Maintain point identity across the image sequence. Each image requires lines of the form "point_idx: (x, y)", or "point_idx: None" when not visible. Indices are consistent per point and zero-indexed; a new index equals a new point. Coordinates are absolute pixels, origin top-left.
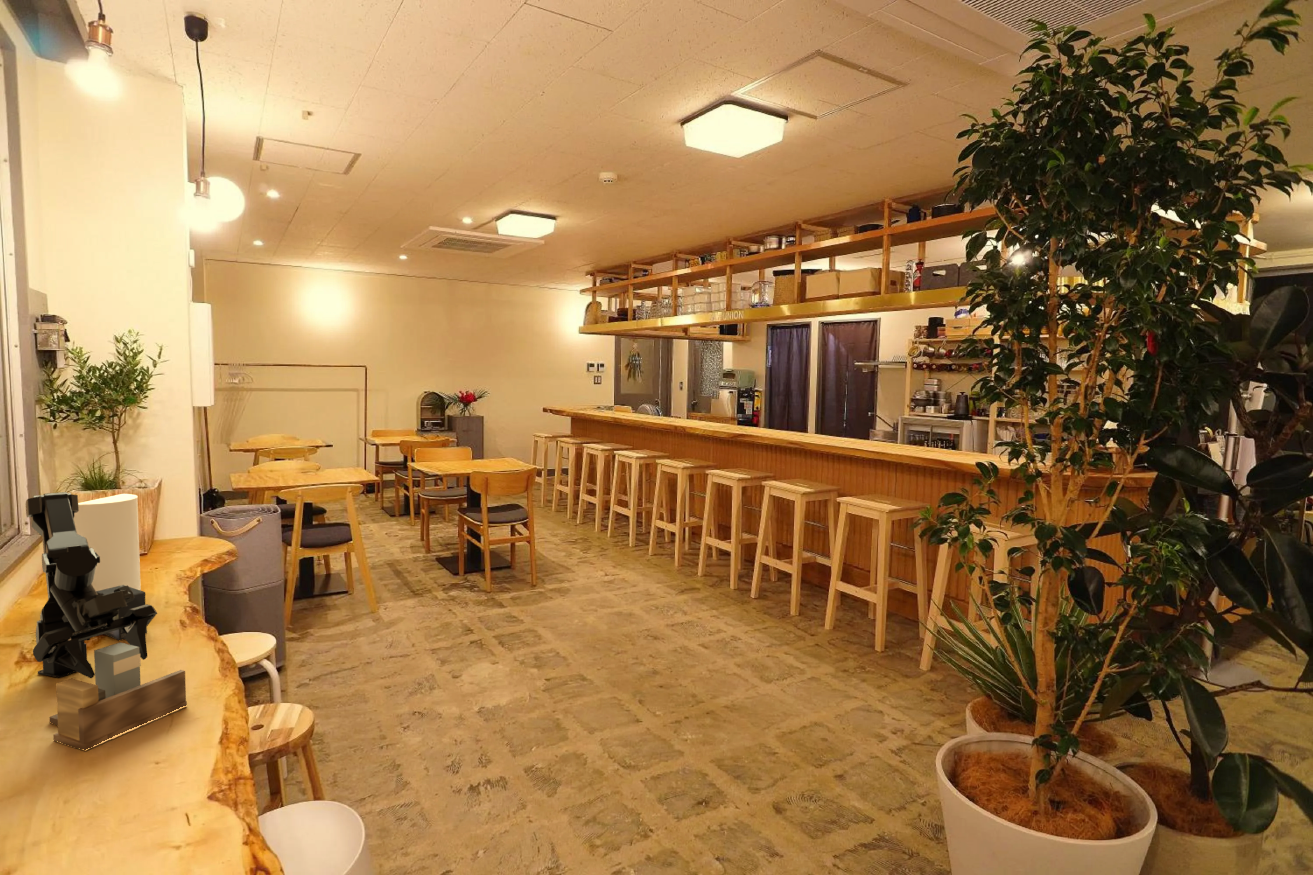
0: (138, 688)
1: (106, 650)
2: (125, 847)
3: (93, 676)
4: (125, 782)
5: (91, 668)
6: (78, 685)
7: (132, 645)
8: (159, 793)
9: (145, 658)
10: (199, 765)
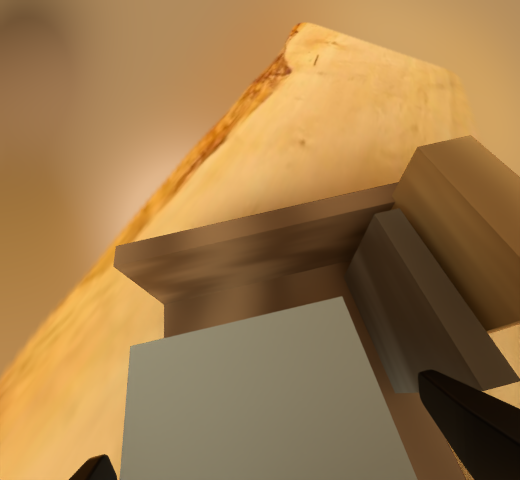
0: (275, 212)
1: None
2: (367, 55)
3: (420, 383)
4: (347, 126)
5: (461, 395)
6: (496, 187)
7: (124, 464)
8: (323, 94)
9: (107, 466)
10: (269, 113)
